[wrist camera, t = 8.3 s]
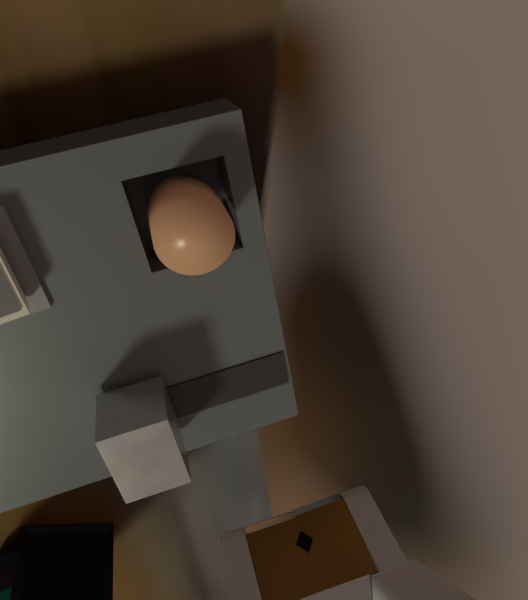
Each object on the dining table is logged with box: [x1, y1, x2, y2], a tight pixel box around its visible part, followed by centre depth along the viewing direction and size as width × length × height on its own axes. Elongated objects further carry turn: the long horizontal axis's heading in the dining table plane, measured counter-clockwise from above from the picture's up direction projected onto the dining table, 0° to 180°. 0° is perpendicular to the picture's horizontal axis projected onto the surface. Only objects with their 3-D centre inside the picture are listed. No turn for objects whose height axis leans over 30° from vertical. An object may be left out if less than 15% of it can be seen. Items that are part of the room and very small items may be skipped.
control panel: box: [0, 98, 298, 513], centre depth 23 cm, size 18×16×3 cm
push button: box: [147, 174, 235, 275], centre depth 19 cm, size 3×3×3 cm
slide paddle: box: [95, 376, 191, 504], centre depth 23 cm, size 3×4×3 cm
